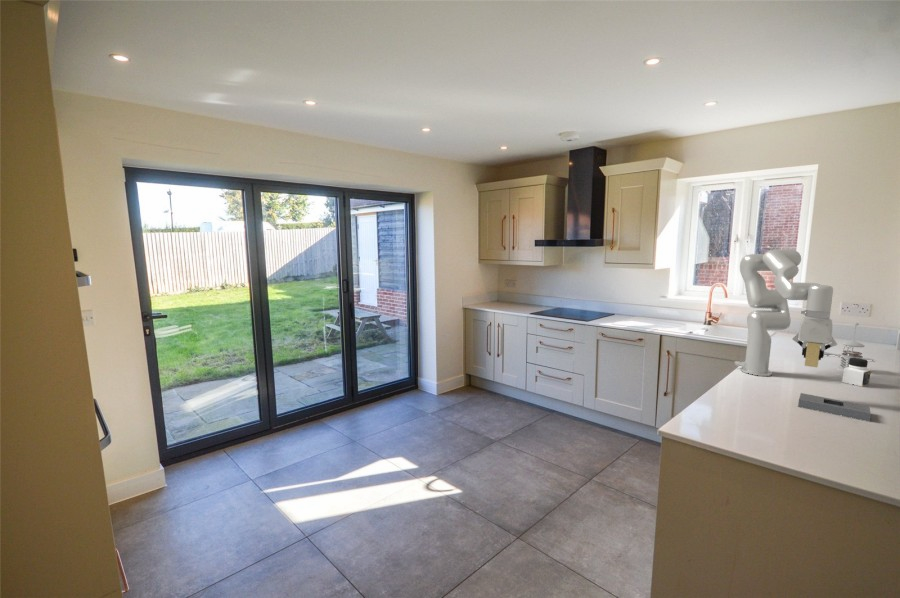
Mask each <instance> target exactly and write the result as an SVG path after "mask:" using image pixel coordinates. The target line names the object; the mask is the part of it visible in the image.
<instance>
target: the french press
mask: <svg viewBox="0 0 900 598" xmlns="http://www.w3.org/2000/svg"><path fill="white" fill-rule="evenodd" d="M859 325H860V324H859V323H858V322H854V323H853V326H854V327H855V328H854V332H856V330H857V326H859ZM855 338H856V333H854V335H853V340H852V341H851V340H849V341H845V342H842V344H843V345H844V347H843V350H842V353H841V354H840V355H841V356H842V357H840V364H839V366H838V367H837V368H838V369H839V370H838V369H837V370H838V371H840V370H842V371H841V372H844V368H846V367H849V359H850V358H864V357H863V353H862V352H860V351H855V350H854V348H864V347H865V345H864V344H863V343H861V342H858V341H855ZM846 347H847V348H846ZM845 348H846V349H847V350H845ZM850 348H852V349H851V350H849V349H850Z"/></svg>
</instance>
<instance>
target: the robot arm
mask: <svg viewBox="0 0 900 598" xmlns="http://www.w3.org/2000/svg"><path fill="white" fill-rule="evenodd" d="M801 262H802V255H801V253H800V252H799V251H797V250H796V249H781V248H780V249H770V250H767V251H766V252H765V253H751V254H747V255H745V256H743V257H742V258H741V260H740V263H739V272H740V275H741V278H742V280H743V283H744V286H745V287H744V288H745V293H746V299H747V303H748V306H749V307H750V308H752V309H757V310H753V311H751V312H749V313H748V315H747V316H746V317H747V318H746V323H747V341H746V342H747V343H746V352H745V361H738V360H737V361H736V360H735V361H734V365H735V366H737V367H740V371H741V372H743V373H744V374H748V373H749V374H748V375H752V374H753V375H752V376H757V375H758V376H759V377H770V376H772V375H773V372H772V371H771V370H769V366H770V358H771V357H770V356H771V349H772V337H771V335H770V334H769V331H783V330H784V331H785V330H787V329H788V328H789V327H790V326H791V316H790V315H791V314H790V308H789V304H788V303H789V302H788V301H806V305H805V306H806V307H805V310H801V311H800V314H801V315H803V316H802V319H801V320H800V321H801V322H800V323H799V324H800V326H799V330H798V333H797V334H796V335H794V336H793V337H792V341H794V342H795V343H797V344H798V345H799V346H801V348H802V351H801V356H803V358H804V359H805V358H806V350H807V342H812V343H820V344H821V345H820V351H819V359H818V360H819V361H821V360H822V359H824V357H825V356H824V352H825V351H826V350H828V349H830V348H834V347H835V346H837V345H838V342H837V341H836V340H835V338H834V337H833V319H831V318H830V316H831V311H832V309H831V308H832V303H833V297H834V295H833V294H834V288H833V286H831V285H828V284H827V285H826V284H820V283H816V282H791V281H790V280H791V279H793V278H795V277H796V276H797V275H798V274H799V271H800V269H799V267H798V266H799V265H800V264H801ZM759 272H772V273H773V274H774V276H775V277H774V281H773V285H774V288H775V289H768V288H767V285H766V284H767V283H766V282H767V281H766V280H765V278H764V277H763V276H762V274H761V273H759ZM758 309H760V310H758ZM761 309H762V310H761ZM765 309H766V310H765Z"/></svg>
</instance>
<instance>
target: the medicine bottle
mask: <svg viewBox="0 0 900 598" xmlns="http://www.w3.org/2000/svg"><path fill="white" fill-rule="evenodd" d="M868 362H869V361H867V360H865V359H862V358H850V359H849V367H846V368H844V371H843V373H842V380H841V381H842V383H843V382H844V384H847V383H849V385H852V384H854V385H853V386H856V385H858V386H857V387H860V386H863V387H865V385H866V386H869V385H870V379H871V378H870V377H871V372H872V371H871V369H869V368H868V364H869V363H868ZM867 368H868V369H867Z"/></svg>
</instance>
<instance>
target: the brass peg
mask: <svg viewBox="0 0 900 598" xmlns="http://www.w3.org/2000/svg"><path fill="white" fill-rule="evenodd" d="M806 346H807V350H806V358H804V359H805V360H804V366H805V367H811V368H818V366H819V361H820V360H818V359H819V351H820V348H821V344H820V343H812V342H807V345H806Z"/></svg>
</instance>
